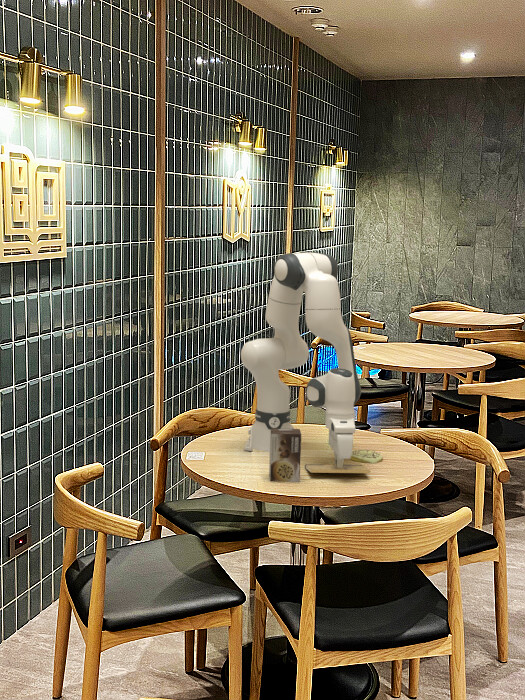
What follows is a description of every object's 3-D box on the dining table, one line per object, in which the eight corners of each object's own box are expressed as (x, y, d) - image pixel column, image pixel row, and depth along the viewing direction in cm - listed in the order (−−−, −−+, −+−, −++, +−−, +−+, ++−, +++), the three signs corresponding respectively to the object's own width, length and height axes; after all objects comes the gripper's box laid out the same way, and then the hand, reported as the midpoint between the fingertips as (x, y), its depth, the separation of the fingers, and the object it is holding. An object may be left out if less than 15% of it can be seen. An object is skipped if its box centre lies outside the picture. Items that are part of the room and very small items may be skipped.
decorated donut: (378, 469, 269) (379, 458, 268) (346, 465, 272) (346, 454, 272) (384, 461, 278) (385, 450, 278) (353, 457, 282) (354, 446, 281)
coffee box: (298, 480, 253) (300, 428, 250) (299, 486, 246) (302, 433, 244) (268, 479, 252) (270, 427, 250) (269, 486, 246) (271, 432, 244)
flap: (304, 471, 262) (304, 463, 262) (360, 472, 264) (360, 464, 264) (310, 477, 250) (310, 469, 250) (369, 477, 251) (369, 469, 252)
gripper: (324, 415, 265) (323, 458, 266) (335, 428, 245) (334, 474, 246) (343, 415, 265) (342, 458, 267) (356, 428, 245) (355, 474, 247)
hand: (338, 466), depth 256 cm, fingers closed
